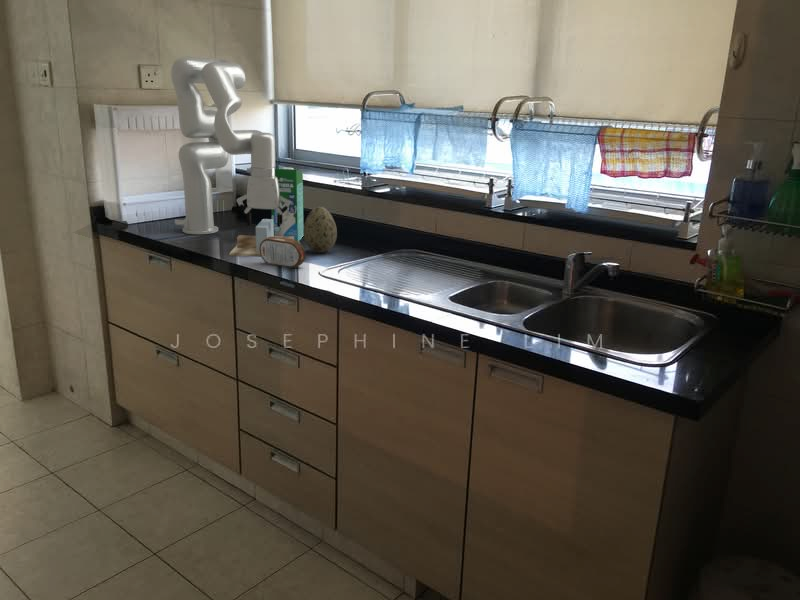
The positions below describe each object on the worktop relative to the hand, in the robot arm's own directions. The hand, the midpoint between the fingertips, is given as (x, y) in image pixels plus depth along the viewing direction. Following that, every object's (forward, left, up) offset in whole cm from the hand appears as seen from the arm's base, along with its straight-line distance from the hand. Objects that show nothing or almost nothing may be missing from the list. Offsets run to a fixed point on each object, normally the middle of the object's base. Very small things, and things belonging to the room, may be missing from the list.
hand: (264, 225), depth 223 cm
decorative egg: (+18, -2, -8) cm, 20 cm away
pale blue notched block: (0, 0, -7) cm, 7 cm away
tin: (+8, -20, -8) cm, 24 cm away
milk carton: (+5, +17, -8) cm, 19 cm away
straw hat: (0, 0, -8) cm, 8 cm away
